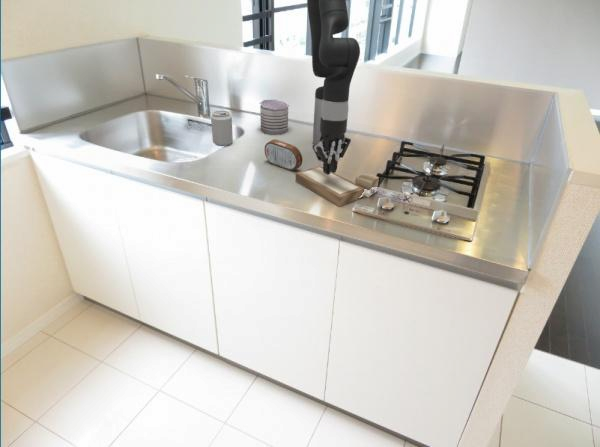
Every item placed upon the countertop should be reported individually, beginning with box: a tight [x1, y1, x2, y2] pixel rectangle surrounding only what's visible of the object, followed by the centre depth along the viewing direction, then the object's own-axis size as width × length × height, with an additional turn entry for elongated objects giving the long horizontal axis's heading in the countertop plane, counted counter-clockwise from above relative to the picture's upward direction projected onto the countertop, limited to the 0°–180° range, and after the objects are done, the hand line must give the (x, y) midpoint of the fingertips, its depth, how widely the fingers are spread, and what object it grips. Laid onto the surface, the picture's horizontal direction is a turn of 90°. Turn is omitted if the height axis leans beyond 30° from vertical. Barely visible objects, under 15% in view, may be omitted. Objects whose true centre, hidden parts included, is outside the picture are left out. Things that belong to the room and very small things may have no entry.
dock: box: [295, 165, 365, 208], centre depth 127 cm, size 10×20×3 cm, turn 39°
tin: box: [264, 139, 303, 171], centre depth 139 cm, size 15×3×8 cm, turn 51°
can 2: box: [259, 99, 290, 136], centre depth 168 cm, size 11×11×12 cm
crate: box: [355, 172, 380, 190], centre depth 125 cm, size 5×5×5 cm
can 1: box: [210, 109, 234, 147], centre depth 155 cm, size 8×8×12 cm
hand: (329, 172), depth 124 cm, fingers closed
